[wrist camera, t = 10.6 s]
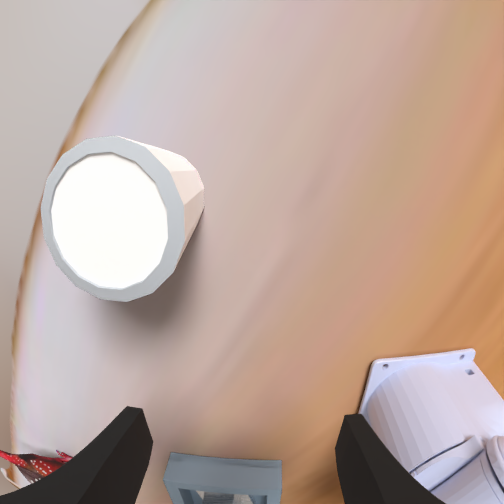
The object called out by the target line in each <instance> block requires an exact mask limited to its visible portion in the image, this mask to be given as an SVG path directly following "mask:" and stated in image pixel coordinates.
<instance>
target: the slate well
mask: <svg viewBox="0 0 504 504" xmlns="http://www.w3.org/2000/svg"><path fill="white" fill-rule="evenodd" d="M163 481H164V484H165V486H166V488H167V491H168V493H169V495H170V498H171V500H172V502H173V504H202V503H203V499H202V498H201V497H200V496H199V494H198V493H197V492H196V491H204V492H214V493H225V494H240V495H253V497H254V499H255V500H256V504H280V499H281V493H282V460H247V459H229V458H216V457H205V456H196V455H187V454H180V453H173V452H171V454H170V458H169V461H168V464H167V468H166V471H165V474H164V478H163Z"/></svg>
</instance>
